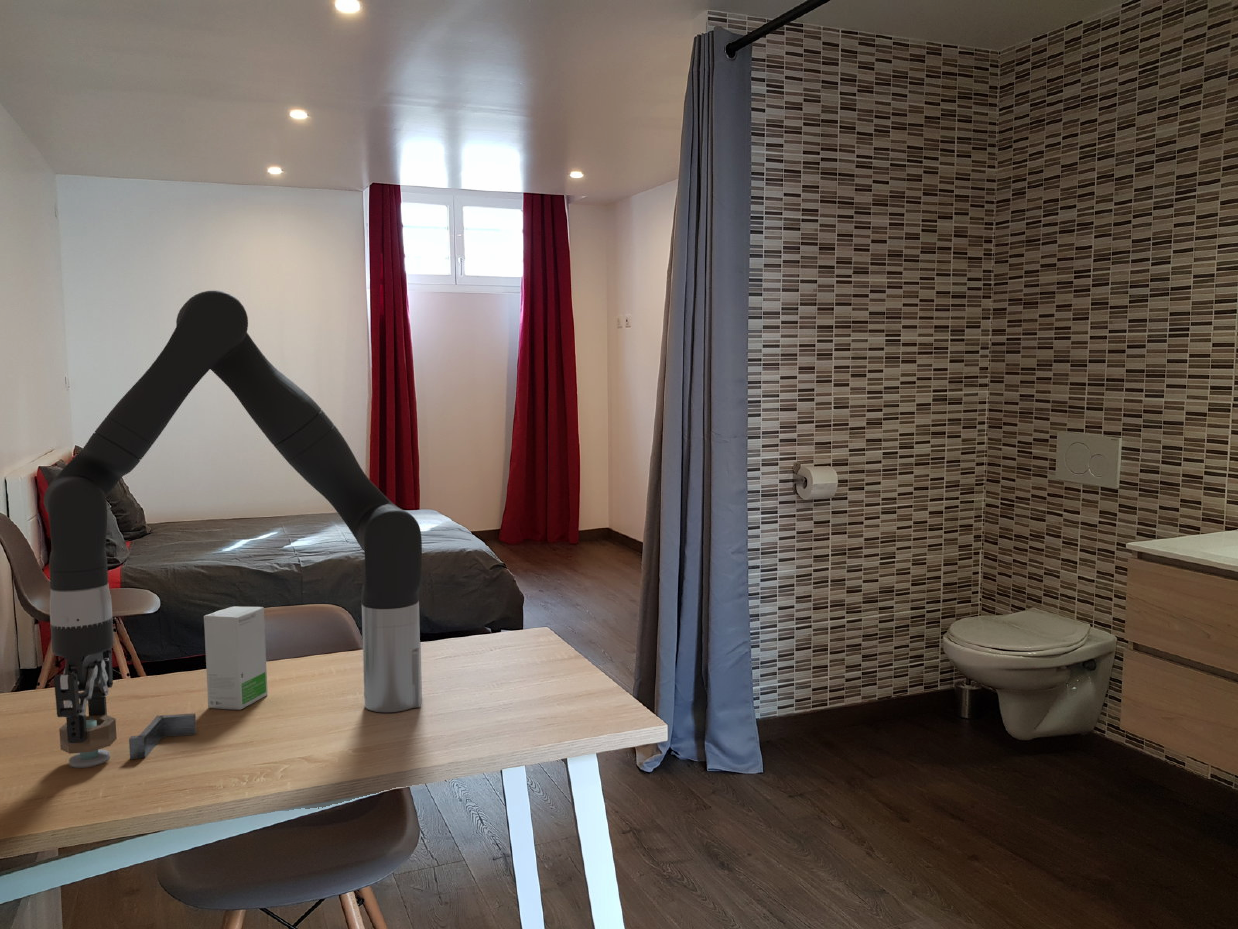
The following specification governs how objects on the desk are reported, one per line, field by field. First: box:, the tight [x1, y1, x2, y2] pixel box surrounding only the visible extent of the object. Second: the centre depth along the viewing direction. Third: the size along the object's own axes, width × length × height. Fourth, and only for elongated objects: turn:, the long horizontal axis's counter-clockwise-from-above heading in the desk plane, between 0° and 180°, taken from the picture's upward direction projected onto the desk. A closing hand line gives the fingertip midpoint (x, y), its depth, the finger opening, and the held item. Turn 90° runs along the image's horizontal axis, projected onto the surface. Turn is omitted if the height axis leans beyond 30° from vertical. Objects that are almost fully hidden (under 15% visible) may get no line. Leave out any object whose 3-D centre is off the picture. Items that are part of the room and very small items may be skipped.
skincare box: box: [203, 605, 268, 711], centre depth 153 cm, size 8×7×16 cm
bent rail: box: [128, 713, 197, 760], centre depth 135 cm, size 6×9×3 cm
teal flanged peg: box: [68, 720, 111, 769], centre depth 130 cm, size 5×5×6 cm
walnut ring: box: [58, 714, 118, 755], centre depth 130 cm, size 6×6×3 cm
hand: (88, 731), depth 130 cm, fingers open, 7 cm apart
